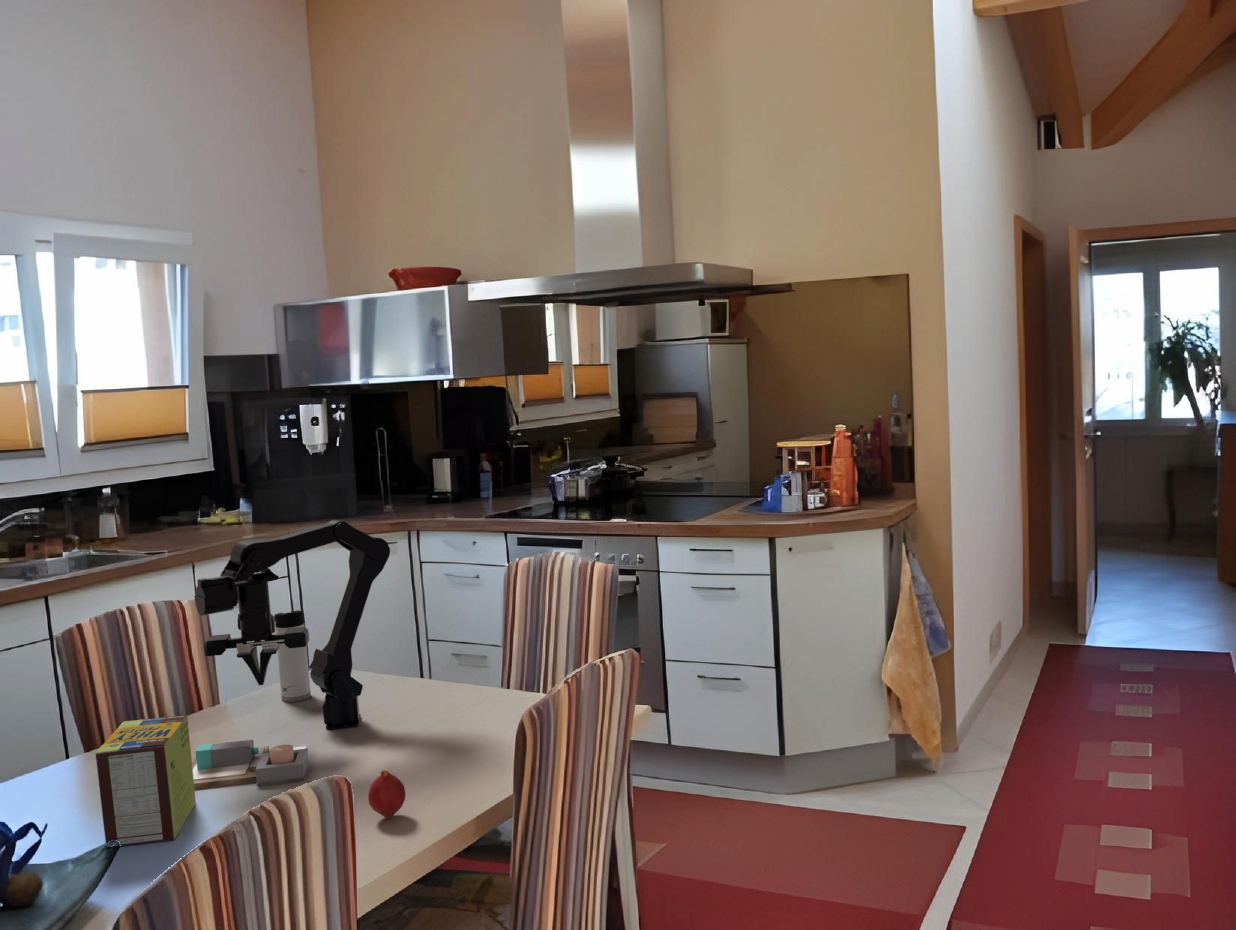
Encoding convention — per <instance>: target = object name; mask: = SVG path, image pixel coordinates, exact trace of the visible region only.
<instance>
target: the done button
mask: <svg viewBox="0 0 1236 930" xmlns="http://www.w3.org/2000/svg"><path fill="white" fill-rule="evenodd" d="M293 748H294V746H293V745H292V744H280V745H275V746H273V747H271V748H269V753H270V759H271V765H272V764H281V763H290V762H294V753H293Z"/></svg>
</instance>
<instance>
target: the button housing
mask: <svg viewBox="0 0 1236 930" xmlns="http://www.w3.org/2000/svg"><path fill="white" fill-rule="evenodd" d="M308 749H309V748H306V749H298V750H293V753H294V762H290V763H281V764H272V765H271V759H270V752H269V753H263V754H262V756H261V758H260V760H259V763H258V765H257V767H256V780H257V781H256V785H257V786H259V787H260V786H267V785H269V786H270V785H276V784H284V783H285V784H286V783H292V782H293V783H294V782H302V781H305V779H306V775H307V773H308V769H309V766H310V758H309V757H310V756H309V750H308Z"/></svg>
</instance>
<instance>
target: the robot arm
mask: <svg viewBox="0 0 1236 930" xmlns="http://www.w3.org/2000/svg"><path fill="white" fill-rule="evenodd" d="M335 542H336V543H337V544H338V545H340V546H341V547H342V548H344V549H345V550H347V551H349V557H348V566H349V568H348V569H349V578H348V581H347V584H346V588H345V590H344V593H343V595H342V600H341V603H340V605H339V609H338V613H337V615H336V619H335V622H334V624H333V628H332V631H331V634H330V637H329V640H328V642H327V643H326V645H325V646H324V648H323V649H319V648H315V650H314V653H313V657H312V662H311V663H310V665H308V668H309V669H310V672H309V677H310V679H311V680H312V682H313V683H314V685H316V686H317V687H319V689H320V691H321V692H322V693H325V696H324V701H323V703H322V711H323V712H322V713H323V723H324V725H325V729H326V730H334V729H344V728H350V727H359V726H360V722H361V717H362V715H361V713H360V707H359V696H361V695H362V690H363V687H364V685H363V684H362V683H361V682H359V681H358V680H356V679H355V678H354V677H353V676H352V672H353V670H352V669H353V656H352V655H353V654H352V648H353V645H354V642H355V638H356V635H357V632H358V629H359V625H360V622H361V619H362V616H363V614H364V610H365V606H366V604H367V601H368V597H369V595H370V590H371V588H372V584H373V582H374V580H376V578H377V577H378V576H379V574H381V572H382V571H383V570H384V568H385V566H386V564H387V562H388V560H389V558H390V555H391V548H390V546H389V543H388V542H387V541H386V540H385V539H383V538H382V537H375V536H371V535H369V534H367V533H366V532H363V531H361V530H359V529H358V528H355V527H353V526H352V525H351V524H349V523H348V522H346V521H344V520H339V519H331V520H329V521H328V522H325V523H322V524H319V525H318V524H317V525H315V526H312V527H308V528H305V529H301V530H298V531H295V532H291V533H288V534H285V535H281V536H277V537H272V538H271V537H270V538H268V537H267V538H254V539H244V540H240V541H237V542H236V543H235V544H234V545H233V547H232V548H231V550H230V558H229V560H228V561H227V563H226V564H225V566H224V568H223V570H222V572H221V573H220V576H215V577H212V578H211V577H210V578H205V577H204V578H203V577H202V578H198V579H197V586H196V588H195V594H194V596H193V597H194V602H195V608H196V611H197V613H198V614H199V616H201V617H204V616H207V615H214V614H218V613H224V612H230V611H233V610H234V608H235V607H237V606H238V614H237V629H238V630H239V631H240V635H241V637H235V638H232V637H231V634H230V633H225V634H214V635H211V636H210V637H209V638H208V639H207V640H206V642H204V647H203V648H204V656H205V657H214V656H215V657H217V656H222V655H223V654H224V653H225V651H226V650H228V649H229V650H231V649H236V650H237V651H236V652H237V653H236V658H241V659H242V660H243V661H244V663H245V664H246V665H247V667H248V668H249V670H250V671H251V673H252V676H253V677H254V679H255V681H256V682H257V684H258V686H264V684H265V680H266V676H267V672H268V668H269V663H270V660H271V658H272V655H275V654H278V652H277V651H278V649H279V644H284V643H285V645H286V646H287V647H288V648H299V647H305V646H308V643H309V641H310V632H309V629H308V628H307V627H306V626H305V627H299V628H288V629H287V630H286V632H285V634H276V628H275V623H276V622H275V615H273V614H272V613H271V601H270V591H269V582H271V581H276V580H279V578H280V577H279V575H278V574H276V573H274V572H273V571H272V569H270V568H272V566H274V565H276V564H277V563H278V562H280V561H281V560H283V559H285V558H287V557H290V556H292V555H293V556H294V555H296V554H299V553H303V552H307V551H311V550H313V549H316V548H319V547H323V546H327V545H329V544H333V543H335ZM260 646H261V648H262V649H261V651H260V653H259V658H258V647H260Z"/></svg>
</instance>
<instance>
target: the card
mask: <svg viewBox="0 0 1236 930" xmlns="http://www.w3.org/2000/svg"><path fill="white" fill-rule="evenodd" d="M298 749H307V745H305V746H296V747H295V746H293V750H298Z"/></svg>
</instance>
